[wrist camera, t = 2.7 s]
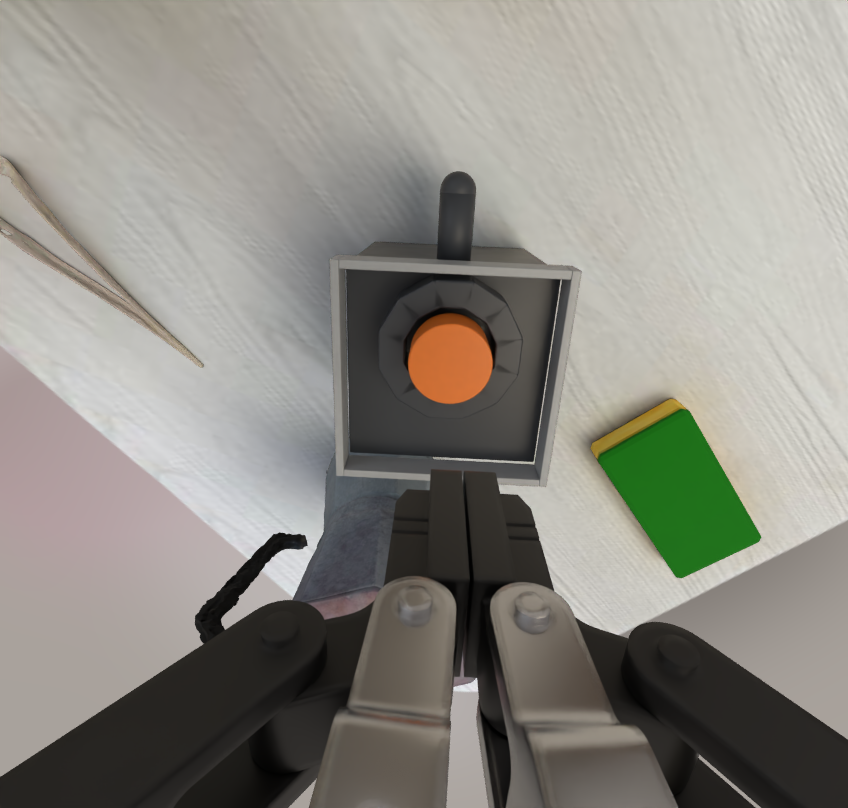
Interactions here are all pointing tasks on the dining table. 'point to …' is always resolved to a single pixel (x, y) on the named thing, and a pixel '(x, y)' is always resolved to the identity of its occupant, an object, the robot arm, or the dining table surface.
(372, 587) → the moka pot
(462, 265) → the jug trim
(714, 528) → the dish sponge
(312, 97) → the dining table surface
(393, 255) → the grey button box
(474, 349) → the lid button
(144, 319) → the tweezers
